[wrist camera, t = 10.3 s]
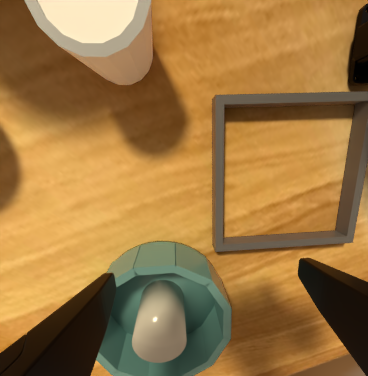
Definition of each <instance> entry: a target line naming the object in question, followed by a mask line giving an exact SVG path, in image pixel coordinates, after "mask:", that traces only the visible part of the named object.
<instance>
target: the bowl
mask: <svg viewBox="0 0 368 376" xmlns="http://www.w3.org/2000/svg"><path fill="white" fill-rule="evenodd" d="M107 273H114V276H115V282H116V295H115V299H114V303H113V307H112V311H111V315H110V319H109V323H108V327H107V330H106V333H105V336H104V339H103V341H102V344H101V347H100V350H99V353H98V355H97V358H96V360H97V361H98V362H99V363H100V364H101V365H102V366H103V367H104V368H105V369H106V370H107V371H108V372H109V373H110V374H111V375H113V376H194V375H196V374H198V373H200V372H201V371H203V370H205V369H207V368H209V367H211V366H212V365H213V364H214V363H215V361H216V360H217V358H218V357H219V355H220V354H221V353H222V351H223V350H224V348H225V347H226V345H227V344H228V342H229V341H230V340H231V315H232V308H231V305H230V303H229V300H228V297H227V294H226V292H225V289H224V286H223V283H222V281H221V279H220V277H219V276H218V274H217V273H216V271H215V269H214V267H213V265H212V264H211V263H210V261H209V260H208V259H207V258H206V257H205V256H204V255H203V254H201V253H200V252H198V251H197V250H195V249H193V248H192V247H190V246H187V245H184V244H181V243H177V242H171V241H155V242H149V243H145V244H141V245H138V246H136V247H134V248H132V249H130V250H128V251H126V252H125V253H124V254H122V255H121V256H120V257H119V258H118V259H117V260H115V261H114V262H112V264H111V265H110V267H109V269H108V271H107ZM157 280H169V281H172V282H174V283H176V284H177V285H178V286H179V287H180V288H181V290H182V292H183V296H184V310H185V324H186V337H187V342H186V346H185V349H184V350H183V352H182V353H181V354H180V355H179V356H178V357H176V358H175V359H173V360H170V361H167V362H162V363H153V362H149V361H146V360H144V359H142V358H140V357H139V356H138V355H137V354H136V353H135V351H134V349H133V347H132V338H133V333H134V328H135V323H136V319H137V314H138V309H139V305H140V300H141V295H142V292H143V290H144V289H145V287H146V286H147V285H149V284H150V283H152V282H154V281H157Z"/></svg>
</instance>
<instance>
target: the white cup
mask: <svg viewBox="0 0 368 376" xmlns="http://www.w3.org/2000/svg"><path fill="white" fill-rule="evenodd" d="M24 1H25V3H26V5H27V6H28V8H29V10H30V12H31V14H32V16H33V18H34V20H35V21H36V23H37V25H38V27H40V28H41V29H42V30H43V31H44V32H45V33H46V34H47V35H48V36H49V37H50V38H51V39H52V40H53V41H54V42H55V43H56V44H57V45H58V46H59V47H61V48H62V49H64V50H65V51H67V52H68V53H69V54H71V55H72V56H74V57H75V58H76V59H78V60H79V61H81V62H82V63H84V64H85V65H86V66H88V67H89V68H91V69H92V70H93V71H95V72H96V73H98V74H99V75H101V76H102V77H103V78H105V79H106V80H108V81H110V82H113V83H115V84H117V85H132V84H134V83H136V82H138V81H140V80H142V79H143V77H144V76H145V75H146V74H147V73H148V71H149V69H150V66H151V63H152V60H153V44H152V14H151V0H24Z"/></svg>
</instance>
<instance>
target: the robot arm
mask: <svg viewBox="0 0 368 376" xmlns="http://www.w3.org/2000/svg"><path fill="white" fill-rule="evenodd" d="M366 12H367V13H366ZM355 77H356V80H355ZM349 83H350V84H351V85H368V4H366V5H365V6H363V7H362V8H361V9H360V10H359V14H358V21H357V28H356V35H355V42H354V48H353V55H352V62H351V69H350V76H349ZM298 276H299V279H300V280H301V282H302V284H303V285H304V287H305V289H306V290H307V292H308V293H309V295H310V297H311V298H312V300H313V302H314V303H315V305H316V307H317V308H318V310H319V311H320V313H321V314H322V315H323V317H324V318H325V320H326V321H327V322H328V324H329V325H330V327H331V328H332V329H333V331H334V332H335V333H336V335H337V336H338V338H339V339H340V340H341V342H342V343H343V344H344V346H345V347H346V349H347V350H348V351H349V353H350V354H351V355H352V357H353V358H354V360H355V361H356V362H357V364H358V365H359V366H360V368H361V369H362V371H363V372H364V373H365V375H366V376H368V282H366V281H364V280H362V279H359V278H357V277H354V276H352V275H349V274H347V273H345V272H342V271H340V270H337V269H335V268H333V267H330V266H328V265H325V264H323V263H321V262H318V261H316V260H313V259H311V258H301V259H300V260H299V267H298ZM115 295H116V282H115V276H114V273H104V274H103V275H101V276H100V277H99V278H97V279H96V280H95V281H94V282H92V283H91V284H90V285H88V286H87V287H86V288H84V289H83V290H82V291H81V292H79V293H78V294H77V295H75V296H74V297H73V298H72V299H70V300H69V301H68V302H66V303H65V304H64V305H62V306H61V307H60V308H59V309H57V310H56V311H55V312H53V313H52V314H51V315H49V316H48V317H47V318H46V319H44V320H43V321H42V322H40V323H39V324H38V325H37V326H35V327H34V328H33V329H31V330H30V331H29V332H28V333H27V335H26V334H25V335H23V336H22V337H21V338H20V339H18V340H17V341H16V342H14V343H13V344H12V345H10V346H9V347H8V348H6V349H5V350H4V351H2V352H1V353H0V376H90V375H91V372H92V370H93V367H94V364H95V361H96V358H97V355H98V353H99V350H100V347H101V344H102V341H103V339H104V336H105V333H106V330H107V327H108V323H109V319H110V315H111V311H112V307H113V303H114V299H115Z"/></svg>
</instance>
